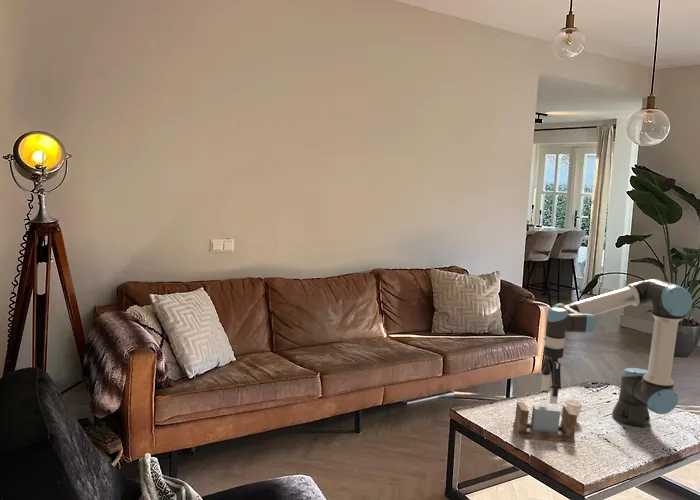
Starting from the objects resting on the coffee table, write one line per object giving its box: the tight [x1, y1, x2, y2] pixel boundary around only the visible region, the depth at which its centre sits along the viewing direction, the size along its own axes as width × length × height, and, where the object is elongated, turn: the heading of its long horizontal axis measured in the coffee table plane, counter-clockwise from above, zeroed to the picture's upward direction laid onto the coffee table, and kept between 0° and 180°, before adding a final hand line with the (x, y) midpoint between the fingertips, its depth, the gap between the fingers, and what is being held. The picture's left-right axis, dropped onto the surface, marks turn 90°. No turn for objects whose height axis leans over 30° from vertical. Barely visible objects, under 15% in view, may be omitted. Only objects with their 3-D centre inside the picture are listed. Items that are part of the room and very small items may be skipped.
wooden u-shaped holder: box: [512, 401, 578, 444], centre depth 240 cm, size 22×12×11 cm, turn 86°
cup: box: [560, 398, 583, 422], centre depth 256 cm, size 7×10×8 cm
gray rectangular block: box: [530, 404, 561, 433], centre depth 240 cm, size 10×4×10 cm, turn 86°
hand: (548, 396), depth 239 cm, fingers open, 13 cm apart
